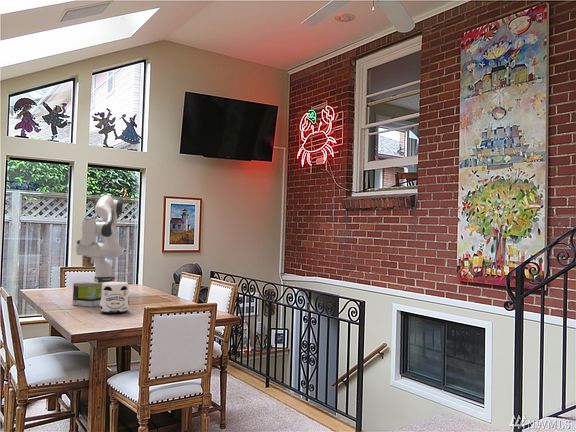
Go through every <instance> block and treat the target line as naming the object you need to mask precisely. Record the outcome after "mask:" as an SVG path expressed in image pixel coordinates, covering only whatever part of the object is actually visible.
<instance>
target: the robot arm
mask: <svg viewBox="0 0 576 432" xmlns="http://www.w3.org/2000/svg"><path fill="white" fill-rule="evenodd" d="M125 206H126V205H125V202H124V201H123V200H119V199H114V198H113V197H112V196H111V195H110V194H103V195H102V196H100V198H97V199H95V200H94V202H93V210H94V213H95V214H96V216H98V217H99V218H101V221H97V220H96V217H94V216H85V217H83V219H82V223H81V233H82V234H81V238H80V239H77V240H76V242H75V243H76V246H75V247H76V248H75V251H76V252H75V253H76V255H77V256H81V258H82V257H91V260H90V263H93V261H94V266H95V267H94V269H95V276H94V278H93V279H94V283H102V284H103V283H105V282H115V281H114V280H116V279H117V277H116V276H113V275H112V265H111V264H110V263H109V262H107V260H106V259H110V258H111V259H113V258H119V257H120V256H121V254H122V250H123V249H122V246H121V245H120V243H119V242H118V241H117V239H116V232H117V224H118V217H119V216H121V215H122V214H123V213H124V211H125V209H126V207H125ZM97 237H102V238H103V239H104V242H97ZM101 297H102V286H101Z"/></svg>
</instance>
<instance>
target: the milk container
mask: <svg viewBox="0 0 576 432" xmlns="http://www.w3.org/2000/svg"><path fill="white" fill-rule="evenodd" d="M129 308H130V299H129V282H127V281H114V282H105V283H103V284H102V297H101V301H100V305H99V310H100V312H102V313H104V314H112V315H113V314H121V313H125V312H127V311H128V310H130V309H129Z"/></svg>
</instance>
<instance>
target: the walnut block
mask: <svg viewBox="0 0 576 432" xmlns="http://www.w3.org/2000/svg"><path fill="white" fill-rule="evenodd" d="M81 258H82V263H81V266H82V267H85V268H90V267H91V268H92V267H94V266H95V263H94V261H93V263H90V260H91V257H90V256H86V257H82V256H81Z"/></svg>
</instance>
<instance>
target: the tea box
mask: <svg viewBox="0 0 576 432" xmlns="http://www.w3.org/2000/svg"><path fill="white" fill-rule="evenodd" d="M72 285H73V286H72V287H73V289H72V306H80V307H91V308H92V307H97V306H100V301H101V286H102V283H95V281H94V282H93V281H91V282H90V281H79V282H73V284H72Z"/></svg>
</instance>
